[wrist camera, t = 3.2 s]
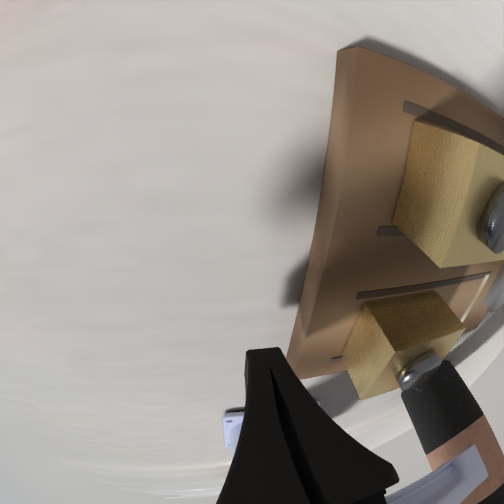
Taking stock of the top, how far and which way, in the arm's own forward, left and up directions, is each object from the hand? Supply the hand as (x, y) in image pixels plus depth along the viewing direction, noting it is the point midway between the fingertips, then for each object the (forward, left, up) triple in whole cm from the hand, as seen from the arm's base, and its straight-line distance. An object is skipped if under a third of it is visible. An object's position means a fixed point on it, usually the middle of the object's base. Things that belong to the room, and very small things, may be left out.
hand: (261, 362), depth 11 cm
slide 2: (0, -7, -1) cm, 7 cm away
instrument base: (+4, -11, -3) cm, 12 cm away
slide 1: (+8, -7, -1) cm, 11 cm away
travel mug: (-14, -21, -3) cm, 26 cm away
